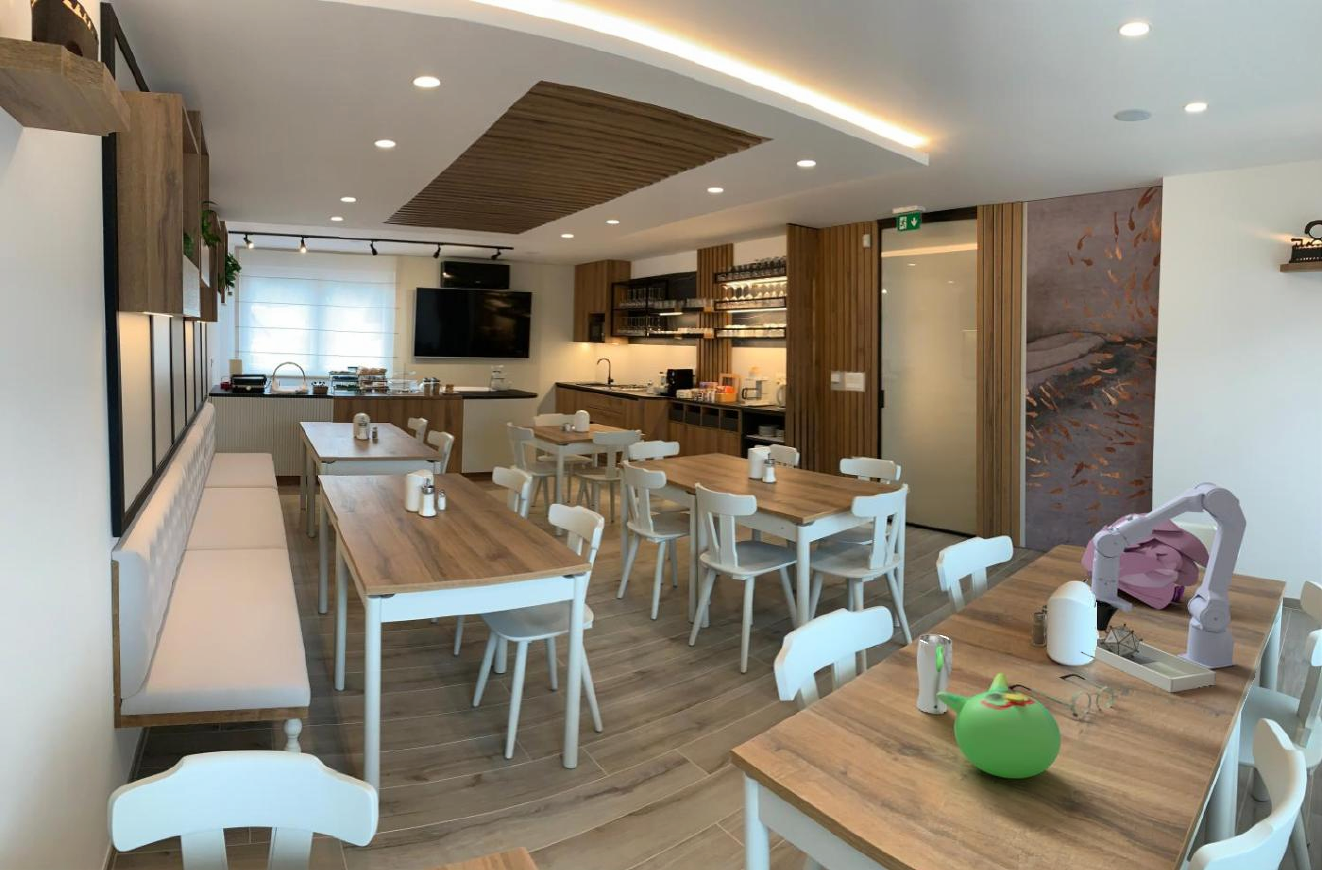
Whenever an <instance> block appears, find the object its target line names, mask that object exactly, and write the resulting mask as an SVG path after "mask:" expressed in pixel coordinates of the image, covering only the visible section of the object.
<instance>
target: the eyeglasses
mask: <svg viewBox="0 0 1322 870" xmlns="http://www.w3.org/2000/svg"><path fill="white" fill-rule="evenodd" d="M1071 677H1077V678H1079V679H1081V680H1083V681H1084V682H1086V683H1089V684H1090V685H1092V686H1094V687H1096V688H1098V689H1099V690H1098V692H1092V693H1090V694H1089V693H1088V692H1086V691H1083V690H1081V691H1080V690H1079V691H1076V692H1075V693H1073V695H1072V696H1071V697H1070V699H1069V702H1065V701H1062V700H1060V699H1058V698H1056V697H1052V696H1050V695H1048V694H1045V693H1042V692H1040V691H1038V690H1036V689H1032V688H1029V687H1027V686H1024V685H1022V684H1014V685H1009V686H1008V689H1010V690H1013V689H1016V688H1017V687H1020V688H1023V689H1026V690H1028V691H1031V692H1032V693H1034V694H1037V695H1039V696H1041V697H1044V698H1046V699H1048V700H1050V701H1053V702H1055V703H1058V704H1060V705H1062V706H1066V707H1068V708H1069V710H1070V711H1071V712H1072V713H1073V714H1074V715H1077V716H1079V714H1078V712H1076V710H1075V709H1076V708H1075V704H1076V701H1077V699H1078V698H1079V696H1081V695H1082V694H1086V695H1087V697H1088V703H1087V707H1086V709H1085V710H1084V712H1083V713H1084V714H1087V713H1088V712H1089V710H1090V708H1091V706H1092V695H1096V696H1095V702H1094V703H1095V704H1096V708H1097V709H1099V710H1102V708H1100V706H1099V698H1100V695H1101V693H1103V692H1106V693H1107V694H1109V695H1111V697H1108V699H1107V702H1106V704H1105V707H1106V708H1109V709H1110V708H1111V707H1112V706H1113V704H1114V701H1115V698H1119V694H1117V693H1115V692H1114V690H1113V689H1112V687H1108V686H1107V685H1104V686H1101V685H1100V684H1097V683H1095V682H1093V681H1091V680H1089V679H1087V678H1085V677H1083V676H1080V675H1078V674H1076V673H1071V674H1067V675H1062V676H1059V679H1061V680H1066V679H1068V678H1071Z"/></svg>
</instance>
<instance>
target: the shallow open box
mask: <svg viewBox="0 0 1322 870" xmlns="http://www.w3.org/2000/svg"><path fill="white" fill-rule="evenodd" d="M1105 637H1106V636H1103V637H1102V636H1101V637H1096V638H1097V646H1096V650H1095V658H1094V659H1095V660H1096V661H1099V662H1101V663H1102V664H1106V665H1108V666H1110V667H1113V668H1115V669H1117V670H1119V671H1121V672H1124V673H1126V674H1128V675H1130V676H1133V677H1134V678H1137V679H1140V680H1141V681H1144V682H1146V683H1149V684H1150V685H1153V686H1155V687H1157V688H1159V689H1161V690H1164V691H1166V692H1168V693H1174V692H1175V693H1176V692H1180V691H1181V692H1182V691H1186V690H1187V691H1188V690H1193V689H1199V688H1198V687H1200V688H1204V687H1203V686H1206V687H1210V686H1209V685H1212V686H1216V678H1217V671H1214V670H1212V669H1207V668H1204V667H1202V666H1199V665H1197V664H1194V663H1192V662H1189V661H1187V660H1184V659H1182V658H1179V657H1178V656H1176V655H1174V654H1171V653H1169V652H1166V651H1163V650H1161V649H1159V648H1157V647H1154V646H1152V645H1148V644H1146V643H1144V642H1142V641H1140V642H1139V645H1138V648H1137V650H1138V651H1139V653H1137V652H1135V653H1134V654H1133V656H1134V658H1132V657H1131V656H1124V657H1120V656H1118V655H1116V654H1114V653H1113V652H1109V651H1110V649H1109V648H1108V647H1107V646H1106V645H1105V644H1100V643H1101V642H1104V639H1105Z"/></svg>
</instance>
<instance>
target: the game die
mask: <svg viewBox="0 0 1322 870" xmlns="http://www.w3.org/2000/svg"><path fill="white" fill-rule="evenodd" d="M1108 627H1109V628H1110V629H1109V630H1108V631H1107V630H1106V631H1104V633H1105V636H1104V637H1105V639H1104V642H1101V643H1100V644H1105V645H1106V646H1107V647H1108V648H1109V649H1110V651H1109V652H1113V653H1114V654H1116V655H1118V656H1120V657H1124V656H1131V657H1132V658H1134V656H1133V654H1134V653H1135V652H1137V653H1139V651H1138V650H1137V648H1138V645H1139V642H1143V641H1144V639H1143V638H1139V637H1138V636H1137V635H1135V634H1134V633H1135V630H1131V629H1129V628H1128V627H1127V624H1126V622H1124V623H1123V626H1122V625H1121V626H1114V627H1113V626H1112V625H1110V624H1108Z"/></svg>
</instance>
